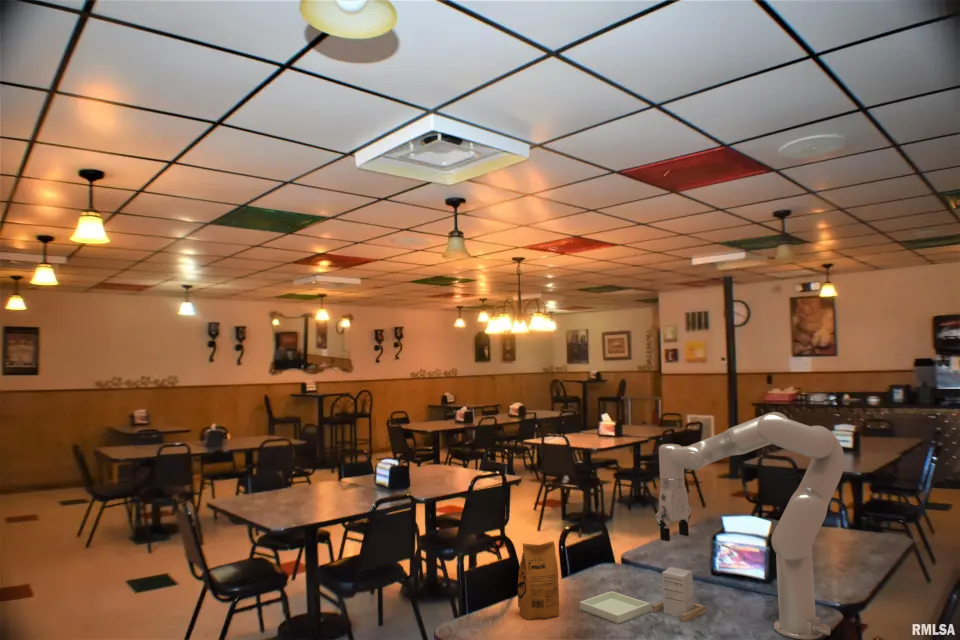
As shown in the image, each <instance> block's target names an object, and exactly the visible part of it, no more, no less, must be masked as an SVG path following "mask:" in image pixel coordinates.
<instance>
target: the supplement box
mask: <svg viewBox="0 0 960 640" xmlns="http://www.w3.org/2000/svg"><path fill="white" fill-rule="evenodd" d="M661 577H662V578H661V580H662V581H661V584H662V601H663V607H664V609H663V614H665V615H670V616H673V615H674V617H678V618H681V614H684V613H686V612H689V611H691V610H693V609H694V603H695V601H694V600H695V599H694V582H693V581H694V580H693V570H689V569H686V568H685V569H684V568H679V567H673V566H670V567H668V568H667V569H666V570H664V571H662V572H661Z"/></svg>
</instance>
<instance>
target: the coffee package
mask: <svg viewBox="0 0 960 640" xmlns="http://www.w3.org/2000/svg"><path fill="white" fill-rule="evenodd" d="M522 551H523V552H521V553H522V556H521V558H520V559H521V560H520V564H519V569H518V579H517V580H518V581H517V607H518V608H519V609H518V610H519V612H520V614H521V616H522V618H523V619H525V620H527V621H530V620H531V621H532V620H534V619H543V620H547V619H551V618H554V617H559V616H560V592H559V589H560V588H559V586H560V584H559V568H558V561H557V554H556V545H555V542H554V541H553V540H552V541H548V542H545V543H541V544H533V543H522Z"/></svg>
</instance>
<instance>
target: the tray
mask: <svg viewBox="0 0 960 640" xmlns="http://www.w3.org/2000/svg"><path fill="white" fill-rule="evenodd" d="M581 610H582V611H581ZM579 611H581V612H584V611H585V612H584V613H586V612H587V614H589V613H591V614H590V615H592V614H594V615H596V616H595V617H597V616H599V617H598V618H600V617H602V618H604V619H603V620H605V619H607V620H606V621H608V620H609V621H608V622H611V621H612V622H611V623H613V622H615V623H614V624H616V623H617V624H616V625H620V624H619V623H621V624H622V622H623V623H625V622H624V621H626V622H628V621H630V620H629V619H631V620H633V619H636V618H638V617H640V616H643V615H645V614H648V613H650V612H651V603H649V602H646V601H644V600H640V599H636V598H633V597H631V596H627V595H625V594H621V593H618V592H617V591H613V590H611V591H608V592H605V593H602V594H599V595H597V596H596V595H595V596H593V597H590V598H587V599H585V600H580V601H579ZM594 615H593V616H594ZM635 617H636V618H635ZM602 618H601V619H602ZM632 618H633V619H632ZM627 620H628V621H627Z"/></svg>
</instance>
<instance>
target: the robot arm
mask: <svg viewBox="0 0 960 640" xmlns="http://www.w3.org/2000/svg"><path fill="white" fill-rule="evenodd" d="M769 445H774V446H776V447H779V448H782V449H785V450H788V451H790V452H792V453H793V452H794V453H796V454H798V455H802V456H804V457H807V458H810V462H809V465H808V467H807V469H806V471H805V474H804V476H803V478H802V479H801V481H800V483H799V485H798V487H797V488H796V490H795V491H794V492H793V494H791V495H792V496H791V497H790V499H789V501H788V503H787V505H786V508H785V509H784V511H783V513H782V515H781V517H780V519H779V521H778V523H777V525H776V526H775V529H774V530H773V533H772V535H771V546H772V549H773V551H774V552H775V555H776V558H775V562H776V579H777V580H776V581H777V598H778V599H777V600H778V616H779V619H778V620H776V621H775V622H773V628H774V630H775V631H776V632H777V633H779V634H781V635H783V636H785V637H789V638H792V639H797V640H818V639H820V638H822V637H823V635H825V636H831V628H830V625H827V624H824V623H822V622H820V621H821V620H820V617H818V616H816V602H815V601H816V598H815V583H814V566H813V562H814V561H813V543H814V541H815V539H816V537H817V535H818V533H819V531H820V529H821V528H822V525H823V523H824V521H825V519H826V516H827V512H828V508H829V505H830V502H831V500H832V497H833V495H834V493H835V491H836V490H837V487H838V485H839V483H840V481H841V478H842V475H843V472H844V470H845V461H846V460H845V453H844V450H843V446H842V445H841V443H840V441H839V439H838V438H837V437H836V435H835V434H834V433H833V432H832V431H831V430H829V429H828V428H826V427H825V426H822V425H812V426H810V425H808V424H804V423H801V422H799V421H796V420H793V419H789V418H788V416H786V415H785V414H783V413H781V412H778V411H773V412H768V413H766V414H764V415H761V416H758V417H755V418H753V419H751V420H747V421H745V422H742V423H740V424H738V425H734V426H732V427H729V428H728V429H726V430H724V431H723V432H721V433H718V434H716V435H714V436H711V437H708V438H706V439H703V440H700V441H698V442H695V443H692V444H690V445H687V446H686V445H685V446H682V445H680V444H675V443H663V444H661V445H659V447H658V460H659V461H658V463H659V482H660V483H659V484H660V485H659V488H660V489H659V500H658V508H659V509H658V510H657V512H656V513H655V515H654V518H655V520H656V523H657V524H658V527H659V531H660V532H659V537H660V538H659V539H660V540H661V541H665V542H670V541H671V534H670V533H671V532H670V530H671V529H670V528H669V526H670V523H671V522H673V523H674V522H678V532H679V533H678V534H679V535H680V536H685V537H689V535H690V534H689V523H690V517H691V512H692V507H691V506H690V505H689V504H690V503H689V497H688V496H689V495H688V492H687V491H688V490H687V488H686V484H685V469H686V470H691V471H696V470H700V469H702V468H704V467H705V466H707V465H710V464H712V463H714V462H717V461H720V460H722V459H725V458H728V457H732V456H739V455H745V454H748V453H750V452H753V451H756V450H757V449H760V448H763V447H766V446H769Z"/></svg>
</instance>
